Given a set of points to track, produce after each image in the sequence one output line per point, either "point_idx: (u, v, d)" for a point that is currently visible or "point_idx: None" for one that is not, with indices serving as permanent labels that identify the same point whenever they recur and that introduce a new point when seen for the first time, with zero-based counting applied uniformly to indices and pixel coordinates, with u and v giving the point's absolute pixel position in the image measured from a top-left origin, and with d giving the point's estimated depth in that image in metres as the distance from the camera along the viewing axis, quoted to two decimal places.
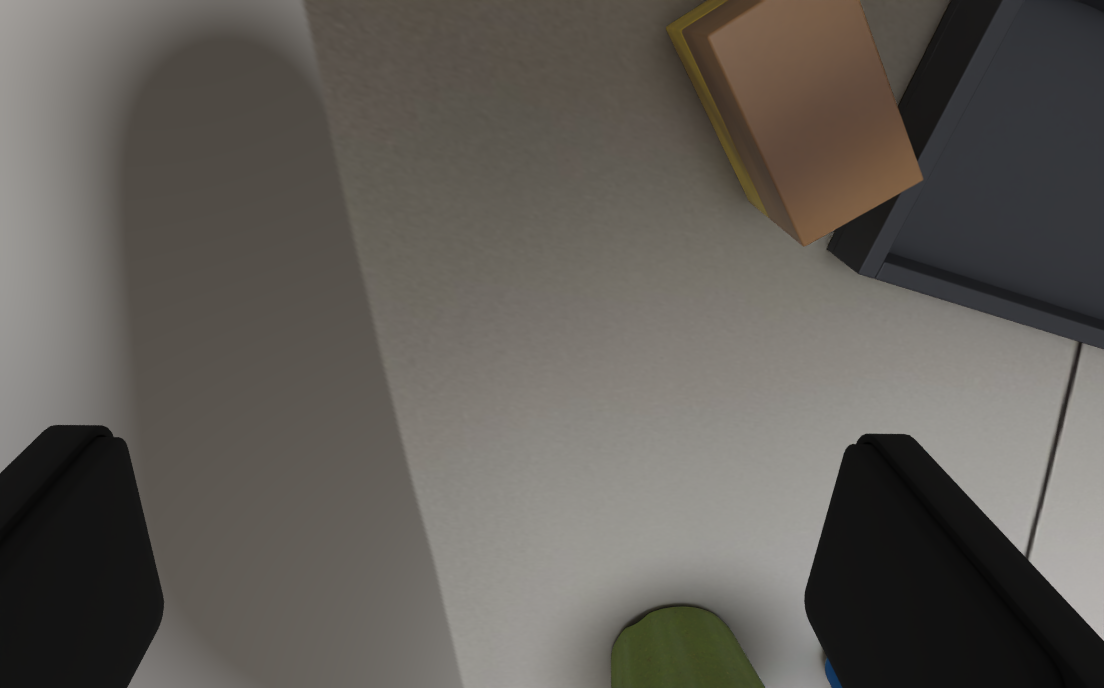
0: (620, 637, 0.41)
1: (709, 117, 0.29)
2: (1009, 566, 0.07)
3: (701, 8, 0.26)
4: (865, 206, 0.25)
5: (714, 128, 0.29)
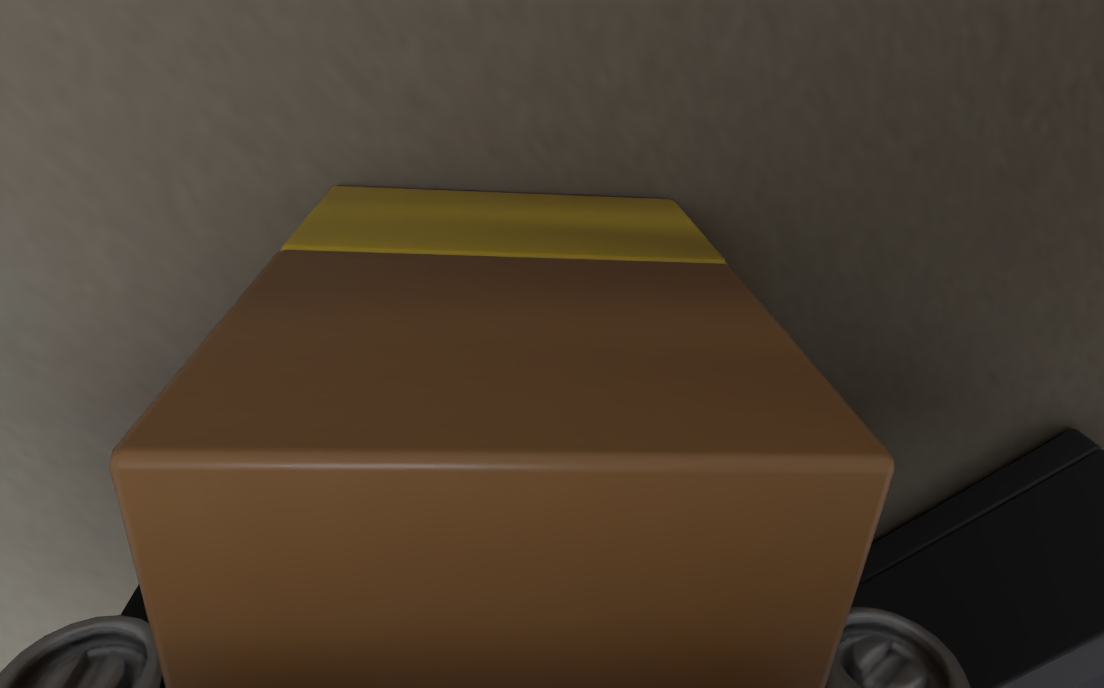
0: None
1: None
2: None
3: (425, 208, 0.08)
4: None
5: None
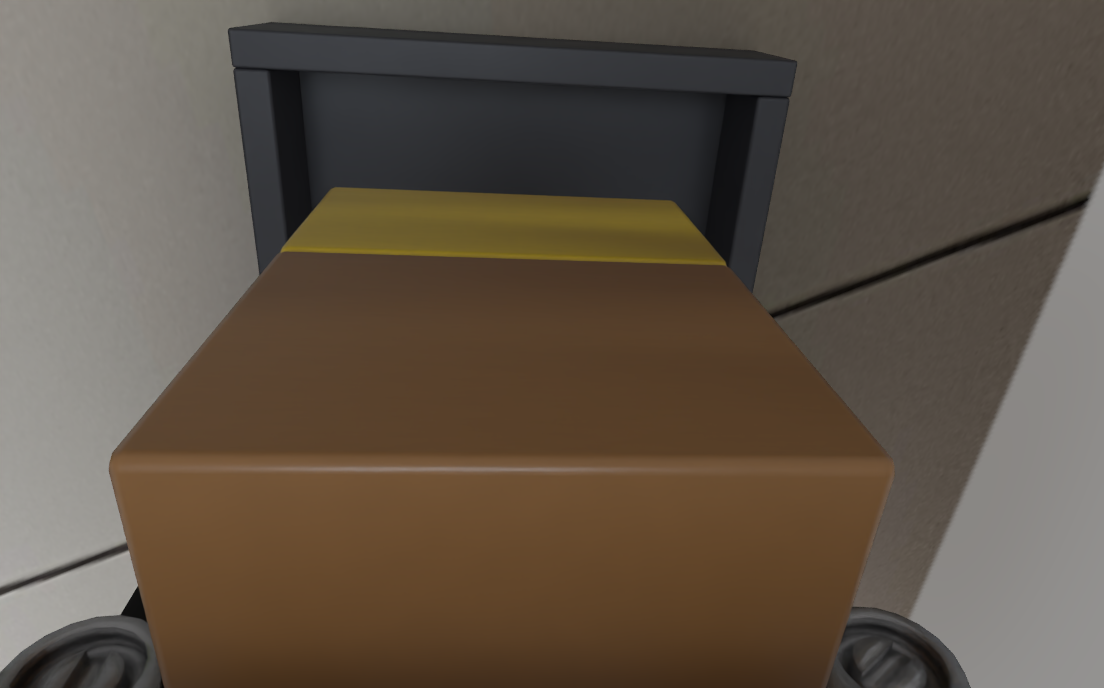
0: None
1: None
2: None
3: (425, 209, 0.08)
4: None
5: None
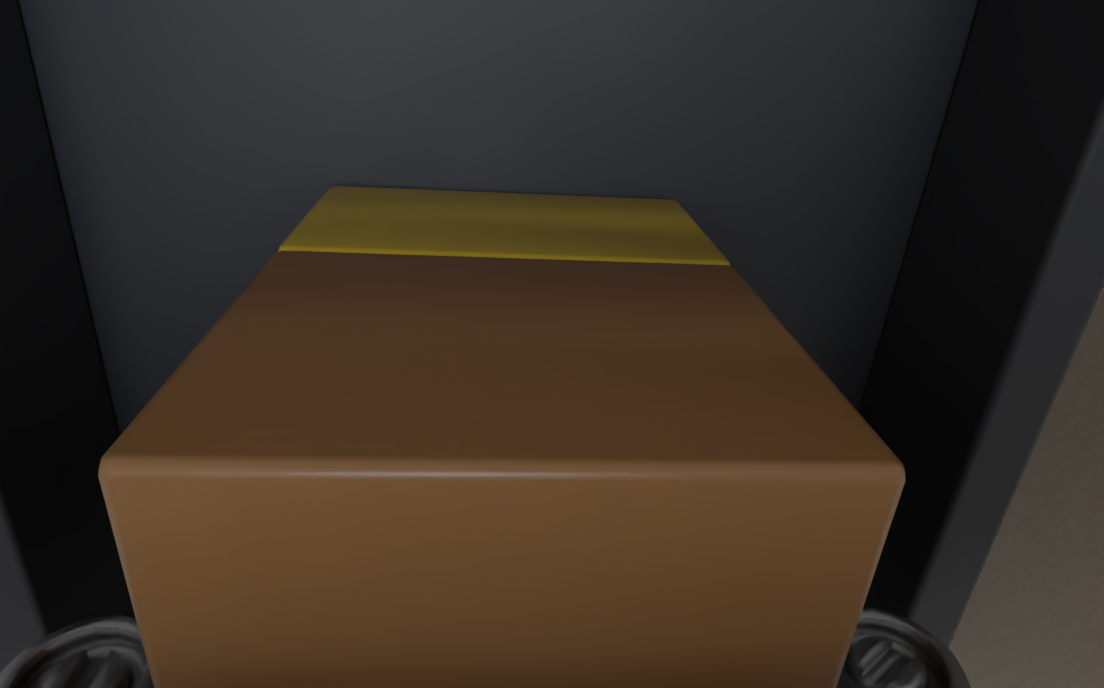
0: None
1: None
2: None
3: (425, 208, 0.08)
4: None
5: None
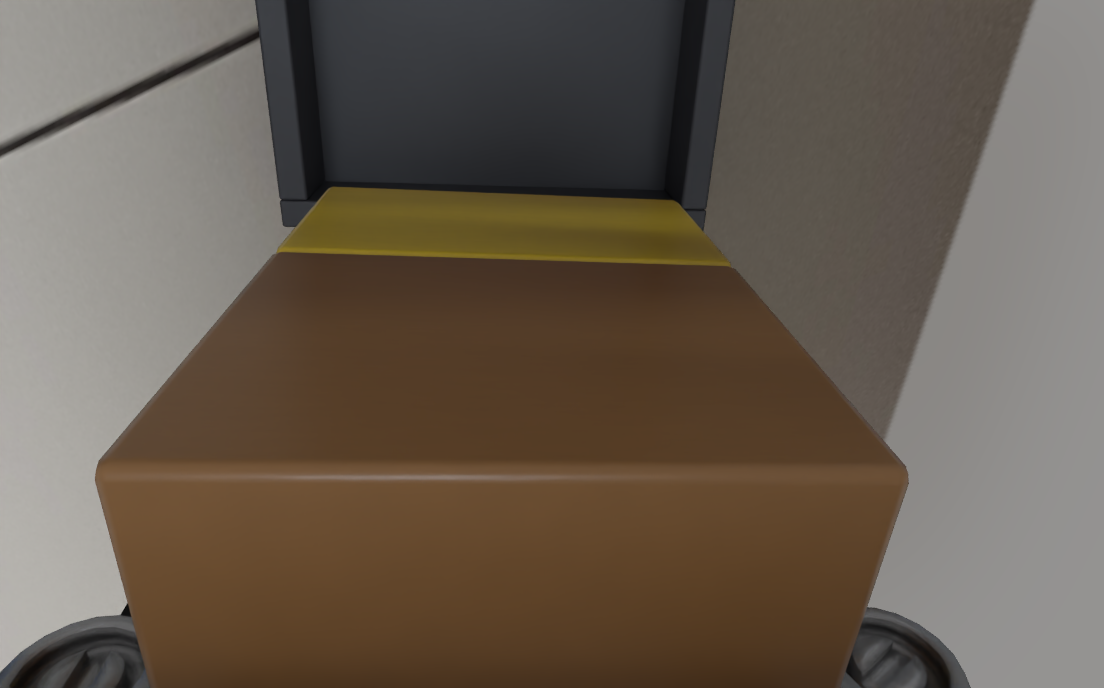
0: None
1: None
2: None
3: (424, 209, 0.08)
4: None
5: None
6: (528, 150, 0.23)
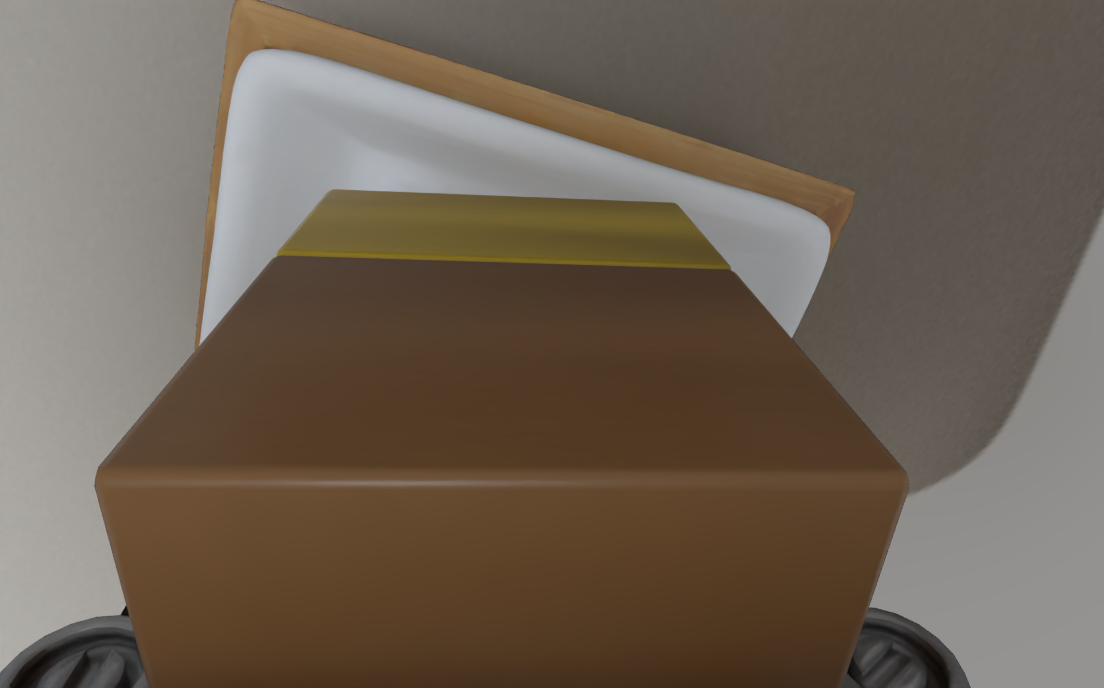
0: None
1: None
2: None
3: (424, 212, 0.08)
4: None
5: None
6: None
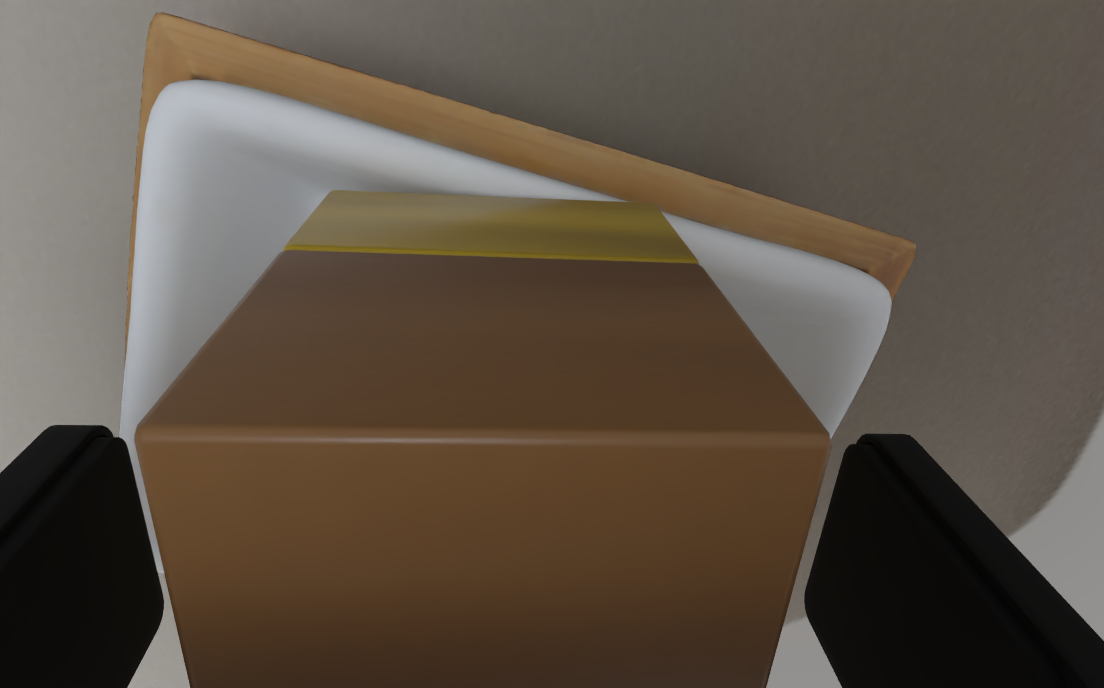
0: None
1: None
2: (1009, 566, 0.07)
3: (419, 211, 0.09)
4: None
5: None
6: None
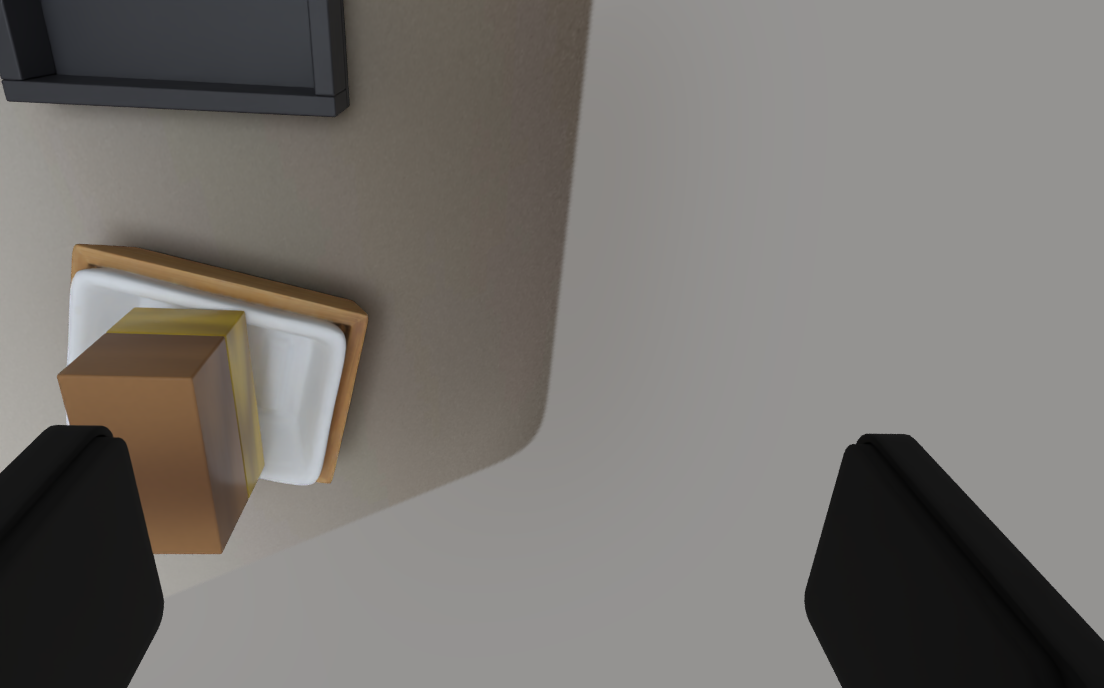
0: None
1: None
2: (1009, 566, 0.07)
3: (156, 316, 0.29)
4: (166, 550, 0.28)
5: None
6: (214, 53, 0.30)
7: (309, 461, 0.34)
